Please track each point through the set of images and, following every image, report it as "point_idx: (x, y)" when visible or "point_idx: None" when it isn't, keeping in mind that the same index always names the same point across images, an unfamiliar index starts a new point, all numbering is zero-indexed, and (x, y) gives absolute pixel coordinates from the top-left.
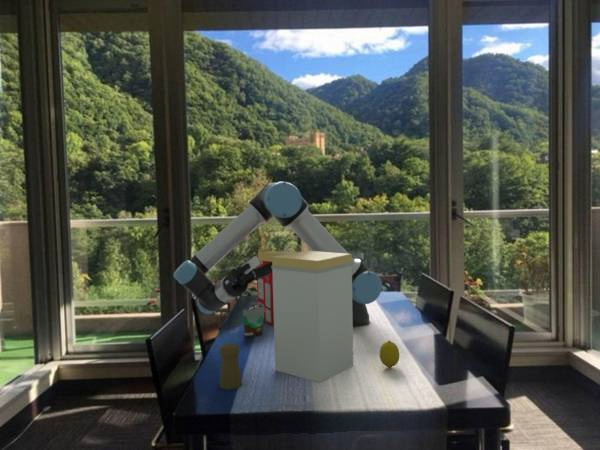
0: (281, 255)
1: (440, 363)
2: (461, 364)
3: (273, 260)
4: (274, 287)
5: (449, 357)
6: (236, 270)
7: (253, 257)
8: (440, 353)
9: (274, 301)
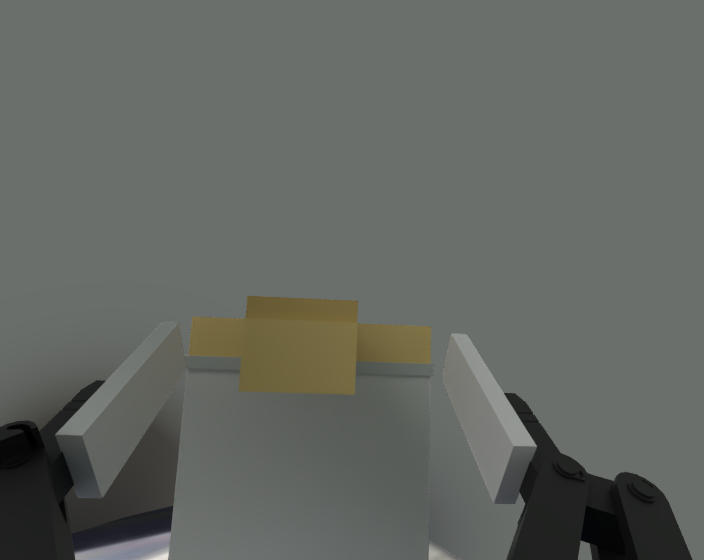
0: (379, 324)
1: (156, 529)
2: (155, 510)
3: (428, 340)
4: (426, 455)
5: (112, 529)
6: (603, 483)
7: (471, 343)
8: (80, 544)
9: (426, 521)
